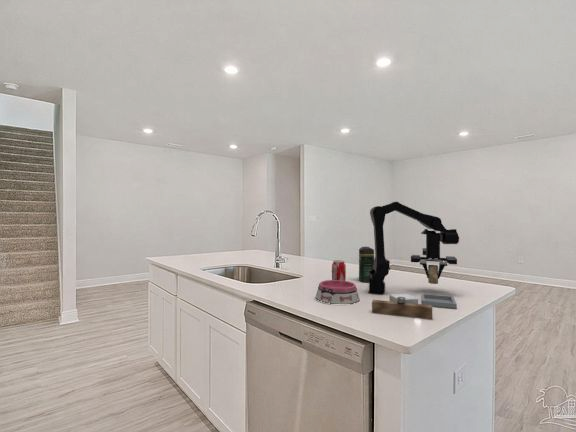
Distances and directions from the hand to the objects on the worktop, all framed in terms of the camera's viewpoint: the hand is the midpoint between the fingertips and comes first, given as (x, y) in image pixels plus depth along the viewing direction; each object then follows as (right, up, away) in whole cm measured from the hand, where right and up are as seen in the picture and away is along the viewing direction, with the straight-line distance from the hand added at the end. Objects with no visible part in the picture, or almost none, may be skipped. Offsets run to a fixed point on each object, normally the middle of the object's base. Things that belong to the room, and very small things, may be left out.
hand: (433, 278), depth 139 cm
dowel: (0, -2, 0) cm, 2 cm away
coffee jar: (-23, -7, +27) cm, 36 cm away
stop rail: (-26, -7, -30) cm, 40 cm away
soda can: (-40, -7, +19) cm, 45 cm away
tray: (-6, -7, -16) cm, 18 cm away
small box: (-22, -7, -24) cm, 33 cm away
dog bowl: (-45, -7, -8) cm, 46 cm away
